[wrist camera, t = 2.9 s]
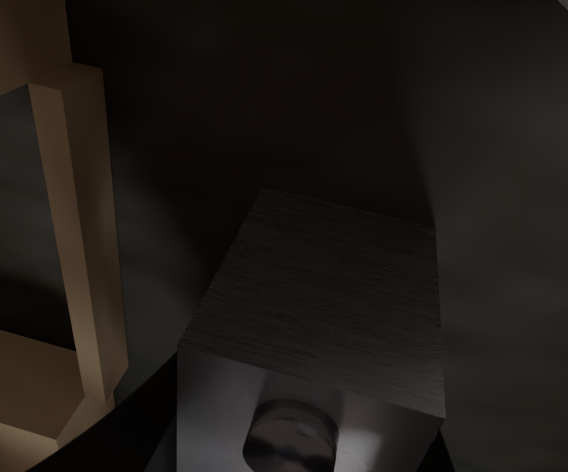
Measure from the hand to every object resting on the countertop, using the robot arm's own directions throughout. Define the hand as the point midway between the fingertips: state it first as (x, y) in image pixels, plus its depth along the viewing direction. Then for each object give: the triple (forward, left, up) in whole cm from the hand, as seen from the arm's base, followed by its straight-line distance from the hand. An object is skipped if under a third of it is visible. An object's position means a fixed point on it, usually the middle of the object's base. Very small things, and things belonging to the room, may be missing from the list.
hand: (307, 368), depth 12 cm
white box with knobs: (0, 0, -2) cm, 2 cm away
